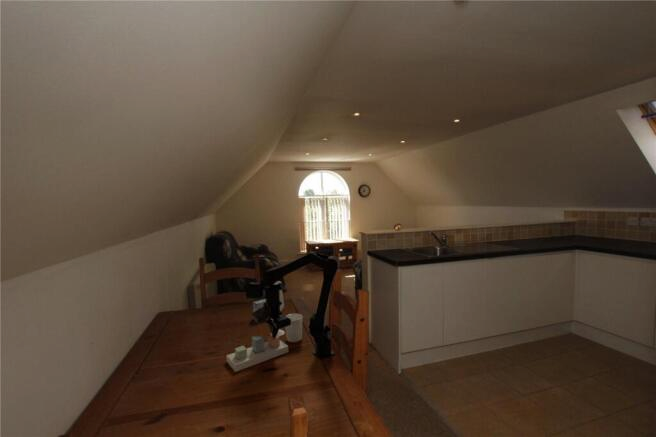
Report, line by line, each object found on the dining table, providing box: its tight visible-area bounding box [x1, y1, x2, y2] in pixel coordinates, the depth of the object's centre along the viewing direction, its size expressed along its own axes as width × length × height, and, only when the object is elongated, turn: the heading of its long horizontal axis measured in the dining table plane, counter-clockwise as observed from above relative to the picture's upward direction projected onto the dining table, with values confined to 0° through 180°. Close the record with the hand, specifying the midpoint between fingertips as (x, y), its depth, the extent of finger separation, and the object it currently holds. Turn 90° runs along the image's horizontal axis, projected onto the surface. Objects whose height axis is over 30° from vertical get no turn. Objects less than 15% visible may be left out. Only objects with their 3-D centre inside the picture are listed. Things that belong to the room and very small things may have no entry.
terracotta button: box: [267, 335, 281, 348], centre depth 120 cm, size 3×3×5 cm
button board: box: [226, 339, 289, 373], centre depth 116 cm, size 9×22×2 cm, turn 128°
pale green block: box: [234, 345, 247, 360], centre depth 112 cm, size 3×3×5 cm
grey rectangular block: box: [251, 334, 265, 353], centre depth 116 cm, size 3×3×5 cm
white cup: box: [284, 313, 304, 343], centre depth 131 cm, size 8×8×10 cm
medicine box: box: [252, 298, 266, 313], centre depth 157 cm, size 8×4×9 cm, turn 133°
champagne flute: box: [270, 280, 286, 337], centre depth 136 cm, size 7×7×24 cm
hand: (274, 337), depth 120 cm, fingers closed, pressing on terracotta button
